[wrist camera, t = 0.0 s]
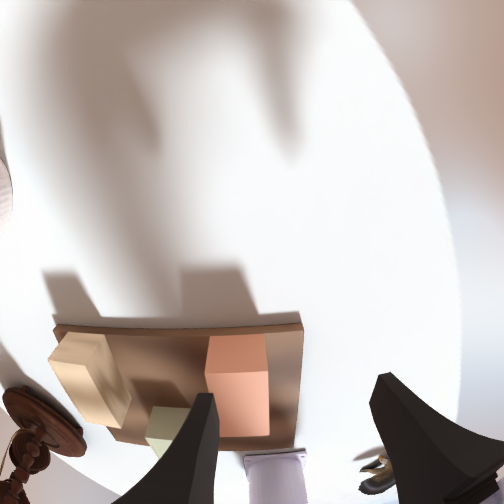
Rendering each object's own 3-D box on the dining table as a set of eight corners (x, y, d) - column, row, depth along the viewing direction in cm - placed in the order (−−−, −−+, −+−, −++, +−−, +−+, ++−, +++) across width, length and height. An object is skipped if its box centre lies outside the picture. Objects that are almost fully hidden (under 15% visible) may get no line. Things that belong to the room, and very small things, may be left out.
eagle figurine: (392, 447, 29) (348, 482, 30) (421, 473, 24) (375, 508, 25) (398, 435, 35) (360, 468, 35) (423, 458, 30) (384, 490, 31)
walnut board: (292, 440, 28) (293, 447, 27) (118, 435, 27) (116, 440, 26) (301, 322, 21) (304, 330, 20) (57, 324, 21) (52, 330, 20)
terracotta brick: (266, 400, 23) (269, 435, 19) (222, 402, 23) (220, 436, 19) (263, 333, 20) (268, 370, 17) (209, 336, 20) (204, 373, 17)
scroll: (15, 366, 24) (-52, 474, 5) (103, 434, 28) (68, 553, 9) (5, 399, 27) (-39, 480, 8) (74, 451, 31) (45, 538, 12)
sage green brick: (206, 447, 26) (203, 475, 23) (172, 445, 26) (168, 472, 22) (192, 408, 23) (187, 441, 20) (153, 406, 23) (144, 437, 20)
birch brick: (131, 398, 23) (121, 428, 19) (98, 393, 23) (85, 421, 19) (104, 334, 20) (85, 365, 16) (68, 331, 20) (47, 359, 16)
